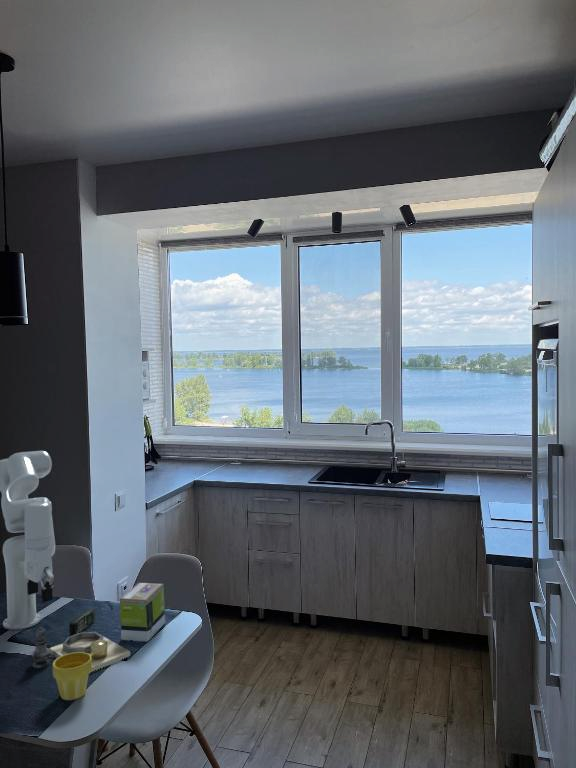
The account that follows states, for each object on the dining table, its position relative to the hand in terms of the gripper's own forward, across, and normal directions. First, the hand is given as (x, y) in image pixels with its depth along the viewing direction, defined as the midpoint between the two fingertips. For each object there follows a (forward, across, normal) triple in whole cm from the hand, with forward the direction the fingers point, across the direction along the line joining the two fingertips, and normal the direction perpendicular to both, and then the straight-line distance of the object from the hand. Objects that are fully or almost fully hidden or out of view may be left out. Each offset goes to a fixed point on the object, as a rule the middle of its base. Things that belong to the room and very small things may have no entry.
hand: (39, 597), depth 186 cm
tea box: (+21, +4, +34) cm, 40 cm away
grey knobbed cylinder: (+21, 0, 0) cm, 21 cm away
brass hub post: (+20, +12, +13) cm, 26 cm away
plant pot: (+22, +24, -2) cm, 32 cm away
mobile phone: (+21, -15, +22) cm, 34 cm away
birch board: (+21, +6, +13) cm, 25 cm away
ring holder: (+19, +2, +13) cm, 24 cm away
